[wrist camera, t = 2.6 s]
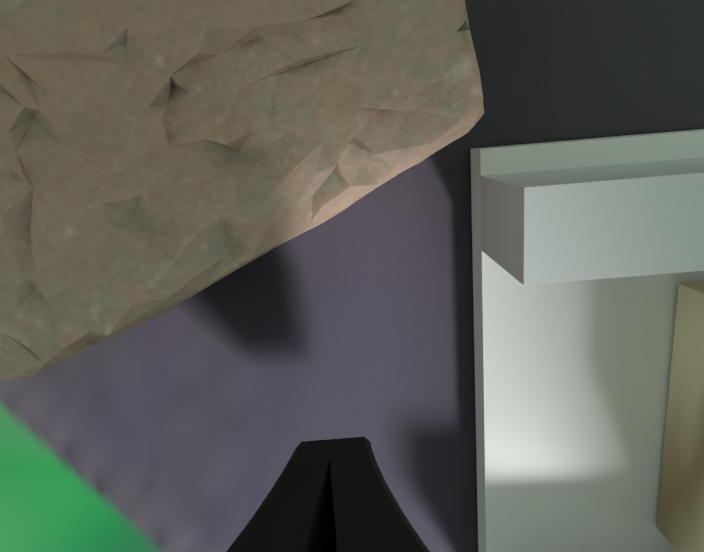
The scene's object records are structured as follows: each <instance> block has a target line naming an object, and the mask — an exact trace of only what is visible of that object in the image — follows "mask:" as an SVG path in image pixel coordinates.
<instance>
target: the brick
mask: <svg viewBox="0 0 704 552" xmlns="http://www.w3.org/2000/svg"><path fill="white" fill-rule="evenodd" d="M483 114H484V105H483V93H482V86H481V78H480V71H479V66H478V62H477V58H476V54H475V50H474V46H473V41H472V37H471V33H470V29H469V22H468V16H467V10H466V3H465V0H0V378H29V377H32V376H34V375H37V374H39V373H41V372H43V371H45V370H47V369H49V368H51V367H53V366H55V365H57V364H59V363H61V362H63V361H65V360H67V359H69V358H71V357H73V356H74V355H76V354H78V353H80V352H82V351H84V350H86V349H88V348H90V347H91V346H93V345H95V344H97V343H99V342H101V341H103V340H105V339H107V338H112V337H114V336H116V335H118V334H120V333H122V332H124V331H127V330H130V329H132V328H135V327H137V326H140V325H142V324H144V323H145V322H147V321H149V320H151V319H153V318H155V317H157V316H159V315H161V314H163V313H165V312H166V311H168V310H170V309H172V308H173V307H175V306H177V305H178V304H180V303H182V302H183V301H185V300H187V299H188V298H190V297H192V296H193V295H195V294H197V293H198V292H200V291H202V290H204V289H205V288H207V287H209V286H210V285H212V284H214V283H215V282H217V281H219V280H220V279H222V278H224V277H225V276H227V275H229V274H230V273H232V272H234V271H236V270H237V269H239V268H241V267H242V266H244V265H246V264H247V263H249V262H251V261H253V260H254V259H256V258H258V257H260V256H261V255H263V254H265V253H267V252H268V251H270V250H272V249H273V248H275V247H277V246H278V245H280V244H282V243H284V242H286V241H288V240H290V239H292V238H294V237H296V236H298V235H300V234H302V233H304V232H306V231H308V230H310V229H312V228H314V227H316V226H318V225H320V224H321V223H323V222H325V221H326V220H328V219H330V218H331V217H333V216H335V215H336V214H338V213H340V212H341V211H343V210H344V209H346V208H347V207H349V206H350V205H351V204H353V203H354V202H356V201H357V200H358V199H360V198H361V197H363V196H365V195H366V194H368V193H369V192H371V191H373V190H374V189H376V188H377V187H379V186H380V185H382V184H384V183H385V182H387V181H388V180H390V179H391V178H393V177H395V176H396V175H398V174H399V173H401V172H403V171H405V170H407V169H409V168H410V167H412V166H414V165H416V164H418V163H420V162H421V161H423V160H424V159H426V158H427V157H429V156H430V155H432V154H433V153H435V152H436V151H438V150H440V149H441V148H443V147H445V146H447V145H448V144H450V143H452V142H453V141H455V140H457V139H458V138H460V137H462V136H463V135H465V134H467V133H468V132H469V131H470V130H471V129H472V128H473V127H474V125H475V124H476V123H477V122H478V120H479V119H480V118H481V117H482V115H483Z"/></svg>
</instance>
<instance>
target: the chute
mask: <svg viewBox="0 0 704 552" xmlns="http://www.w3.org/2000/svg"><path fill="white" fill-rule="evenodd" d="M470 155H471V206H472V257H473V308H474V359H475V410H476V460H477V511H478V552H676V551H675V549H674V548H673V547H672V546H671V544H670V543H669V542H668V541H667V539H666V538H665V537H664V536H663V534H662V533H661V532H660V531H659V529H658V528H657V527H656V524H657V513H658V502H659V491H660V481H661V470H662V459H663V448H664V437H665V427H666V416H667V405H668V394H669V383H670V372H671V362H672V351H673V340H674V329H675V318H676V307H677V297H678V286H679V283H689V282H701V281H704V129H696V130H685V131H673V132H661V133H649V134H637V135H626V136H614V137H602V138H590V139H578V140H567V141H555V142H543V143H531V144H520V145H508V146H496V147H484V148H472V149H470Z"/></svg>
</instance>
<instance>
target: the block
mask: <svg viewBox="0 0 704 552" xmlns="http://www.w3.org/2000/svg"><path fill="white" fill-rule="evenodd" d="M656 527H657V528H658V529H659V531H660V532H661V533H662V534H663V536H664V537H665V538H666V539H667V541H668V542H669V543H670V544H671V546H672V547H673V548H674V549H675V551H676V552H704V281H701V282H689V283H679V286H678V297H677V307H676V318H675V329H674V340H673V351H672V362H671V372H670V383H669V394H668V405H667V416H666V427H665V437H664V448H663V459H662V470H661V481H660V491H659V502H658V513H657V524H656Z"/></svg>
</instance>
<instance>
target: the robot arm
mask: <svg viewBox="0 0 704 552" xmlns="http://www.w3.org/2000/svg"><path fill="white" fill-rule="evenodd" d="M226 552H430V551H429V550H428V549H427V547H426V546H425V544H424V543H423V542H422V540H421V539H420V537H419V536H418V534H417V533H416V531H415V530H414V529H413V527H412V526H411V524H410V522H409V521H408V519H407V518H406V516H405V515H404V513H403V511H402V510H401V508H400V506H399V505H398V503H397V501H396V499H395V498H394V496H393V494H392V493H391V491H390V489H389V487H388V485H387V484H386V482H385V480H384V478H383V476H382V473H381V471H380V469H379V467H378V465H377V462H376V460H375V457H374V455H373V452H372V448H371V443H370V441H369V440H367V439H366V438H365V437H356V438H343V439H331V440H318V441H305V442H301V443H300V444H299V445H298V446H297V447H296V449H295V451H294V453H293V455H292V456H291V458H290V460H289V462H288V463H287V465H286V467H285V468H284V470H283V472H282V473H281V475H280V477H279V478H278V480H277V481H276V483H275V485H274V486H273V488H272V489H271V491H270V492H269V494H268V495H267V497H266V498H265V500H264V501H263V503H262V504H261V506H260V507H259V508H258V510H257V511H256V513H255V514H254V516H253V517H252V519H251V520H250V521H249V523H248V524H247V525H246V527H245V528H244V529H243V531H242V532H241V533H240V535H239V536H238V537H237V538H236V540H235V541H234V542H233V544H232V545H231V546H230V548H229V549H228V550H227V551H226Z"/></svg>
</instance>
